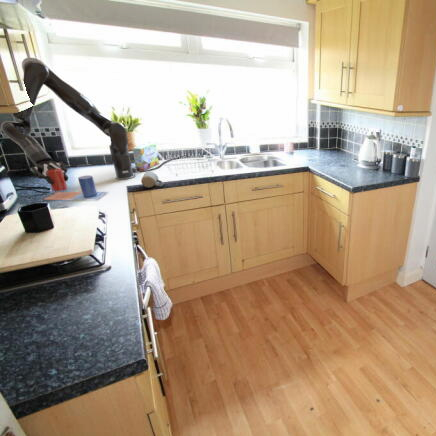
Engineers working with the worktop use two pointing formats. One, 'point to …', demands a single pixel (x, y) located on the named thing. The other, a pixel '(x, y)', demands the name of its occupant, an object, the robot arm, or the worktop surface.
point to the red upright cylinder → (57, 179)
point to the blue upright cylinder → (87, 186)
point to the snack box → (145, 156)
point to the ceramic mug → (150, 180)
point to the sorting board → (71, 196)
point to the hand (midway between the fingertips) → (59, 181)
